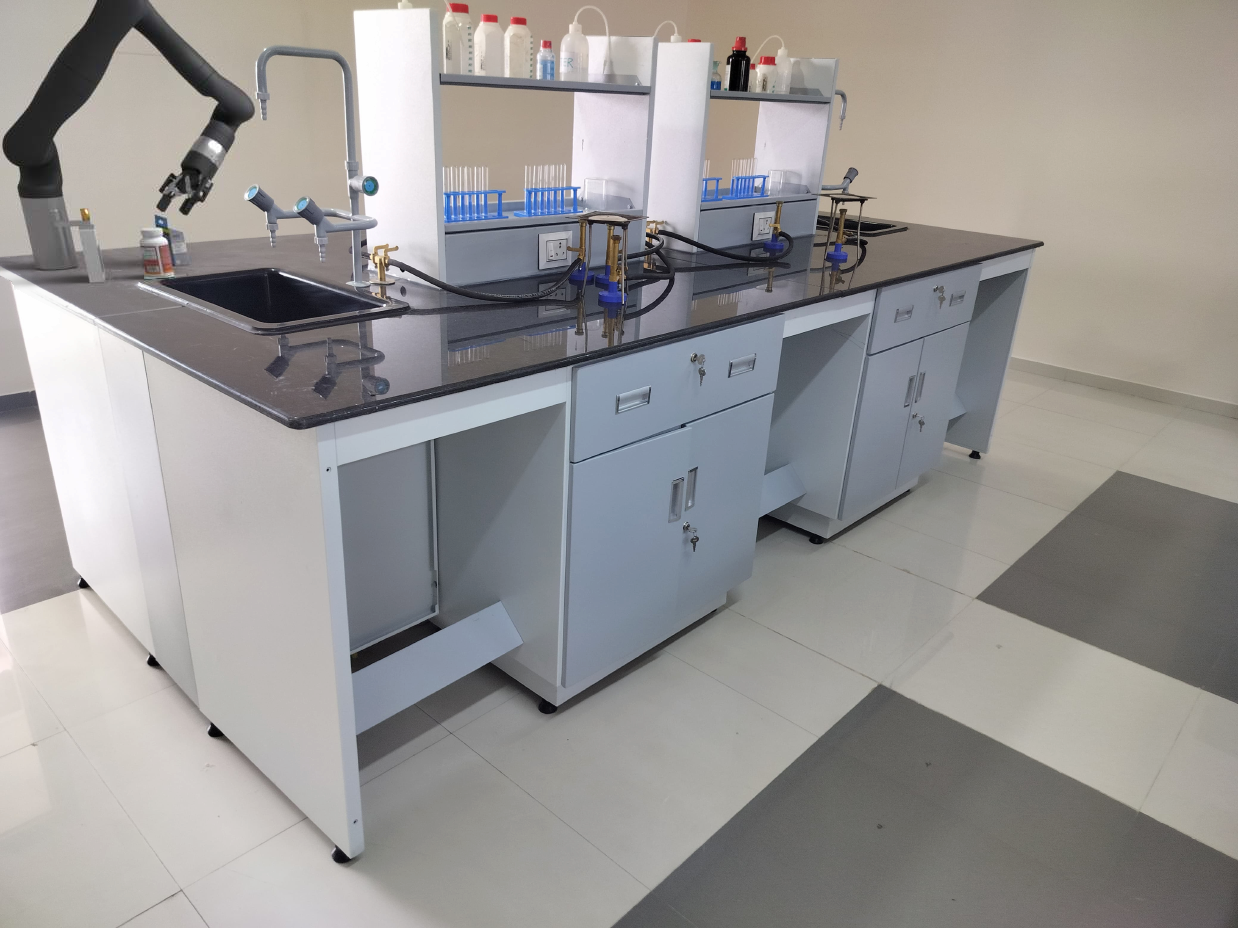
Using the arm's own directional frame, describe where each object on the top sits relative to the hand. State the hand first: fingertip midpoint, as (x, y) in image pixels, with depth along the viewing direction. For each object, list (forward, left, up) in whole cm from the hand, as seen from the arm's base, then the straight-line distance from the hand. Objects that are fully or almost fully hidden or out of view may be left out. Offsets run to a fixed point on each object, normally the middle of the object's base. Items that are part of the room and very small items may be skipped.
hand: (171, 211), depth 211 cm
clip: (+4, -21, -2) cm, 21 cm away
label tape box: (-15, -1, -15) cm, 21 cm away
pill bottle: (+4, -5, -15) cm, 16 cm away
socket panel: (+2, -18, -15) cm, 24 cm away
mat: (+4, -5, -15) cm, 16 cm away
